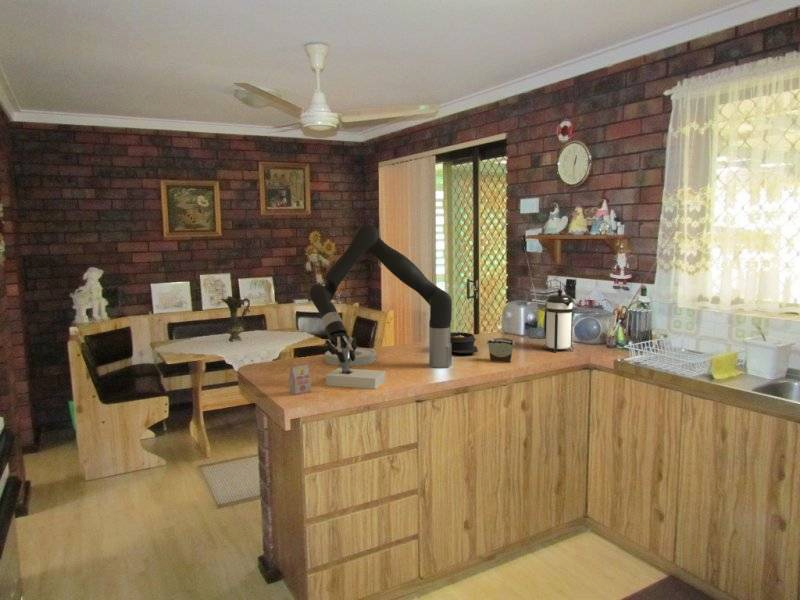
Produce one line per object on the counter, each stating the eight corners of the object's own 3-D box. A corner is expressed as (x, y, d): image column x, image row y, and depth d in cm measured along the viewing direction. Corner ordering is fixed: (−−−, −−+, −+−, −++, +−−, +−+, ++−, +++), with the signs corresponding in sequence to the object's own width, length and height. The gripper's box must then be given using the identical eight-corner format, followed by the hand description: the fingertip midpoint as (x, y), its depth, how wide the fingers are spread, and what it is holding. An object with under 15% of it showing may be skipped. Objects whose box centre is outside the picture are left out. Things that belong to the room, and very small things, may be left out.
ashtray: (385, 362, 258) (385, 353, 258) (339, 369, 246) (338, 360, 246) (360, 353, 278) (360, 345, 277) (317, 359, 266) (316, 351, 265)
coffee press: (578, 348, 285) (580, 288, 281) (569, 354, 271) (570, 291, 268) (544, 345, 294) (545, 287, 290) (533, 350, 281) (535, 289, 277)
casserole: (487, 355, 271) (487, 337, 270) (451, 358, 265) (451, 340, 264) (464, 345, 295) (464, 329, 294) (431, 348, 288) (431, 331, 287)
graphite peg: (351, 382, 224) (350, 347, 223) (348, 384, 221) (347, 348, 220) (344, 381, 225) (343, 346, 224) (340, 383, 222) (340, 348, 220)
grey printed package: (289, 393, 208) (288, 366, 207) (305, 390, 213) (305, 363, 211) (294, 395, 206) (293, 368, 204) (310, 392, 210) (310, 365, 209)
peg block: (385, 381, 225) (385, 371, 224) (375, 388, 213) (375, 378, 213) (338, 377, 231) (338, 368, 230) (326, 385, 219) (325, 375, 219)
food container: (517, 360, 259) (517, 338, 258) (513, 363, 254) (514, 341, 252) (490, 358, 264) (490, 336, 263) (486, 360, 259) (487, 339, 258)
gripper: (320, 321, 223) (335, 357, 214) (352, 318, 230) (367, 353, 222) (314, 333, 228) (329, 368, 219) (346, 329, 235) (361, 364, 227)
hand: (348, 360), depth 220 cm, fingers open, 4 cm apart
